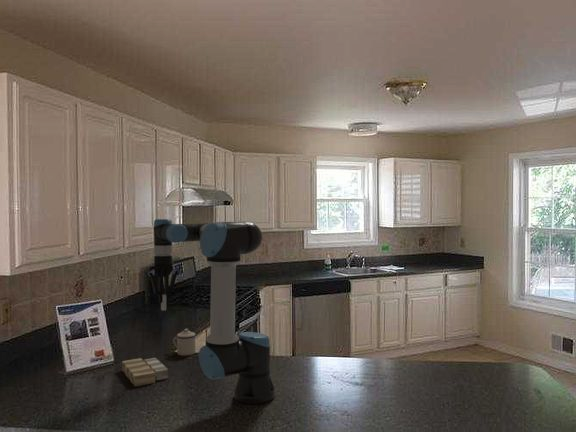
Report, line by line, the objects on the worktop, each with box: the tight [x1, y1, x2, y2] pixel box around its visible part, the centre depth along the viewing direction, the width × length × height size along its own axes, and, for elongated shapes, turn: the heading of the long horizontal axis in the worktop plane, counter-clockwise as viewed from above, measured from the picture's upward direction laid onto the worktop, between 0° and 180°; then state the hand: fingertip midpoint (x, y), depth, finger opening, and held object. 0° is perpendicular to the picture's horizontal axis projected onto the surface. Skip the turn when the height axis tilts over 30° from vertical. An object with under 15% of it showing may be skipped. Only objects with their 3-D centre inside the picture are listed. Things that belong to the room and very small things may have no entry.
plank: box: [143, 357, 169, 381], centre depth 197 cm, size 18×5×4 cm, turn 32°
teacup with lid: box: [172, 328, 197, 356], centre depth 225 cm, size 12×9×12 cm
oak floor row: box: [121, 357, 157, 387], centre depth 193 cm, size 22×9×4 cm, turn 32°
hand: (163, 309), depth 198 cm, fingers closed
